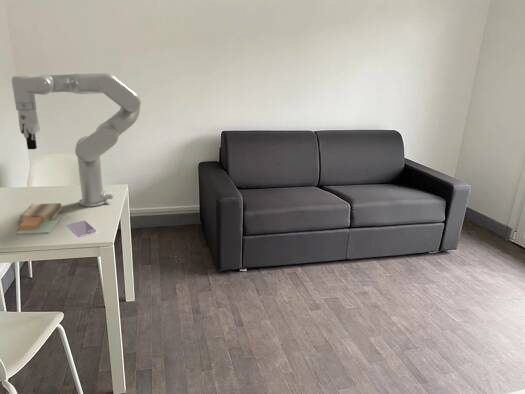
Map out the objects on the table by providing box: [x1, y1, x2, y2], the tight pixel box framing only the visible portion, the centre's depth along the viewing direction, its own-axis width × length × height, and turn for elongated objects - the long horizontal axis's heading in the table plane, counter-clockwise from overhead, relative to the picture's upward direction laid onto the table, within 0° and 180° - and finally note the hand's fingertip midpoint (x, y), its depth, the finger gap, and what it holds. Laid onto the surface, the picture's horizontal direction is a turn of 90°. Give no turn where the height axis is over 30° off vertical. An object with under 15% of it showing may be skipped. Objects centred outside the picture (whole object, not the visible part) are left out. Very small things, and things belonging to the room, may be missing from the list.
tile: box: [19, 217, 43, 230], centre depth 165 cm, size 6×9×2 cm, turn 12°
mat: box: [16, 219, 60, 235], centre depth 164 cm, size 12×12×1 cm
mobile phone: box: [67, 220, 98, 238], centre depth 165 cm, size 8×1×15 cm
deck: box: [19, 202, 62, 223], centre depth 176 cm, size 12×14×3 cm
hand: (32, 148), depth 177 cm, fingers closed
